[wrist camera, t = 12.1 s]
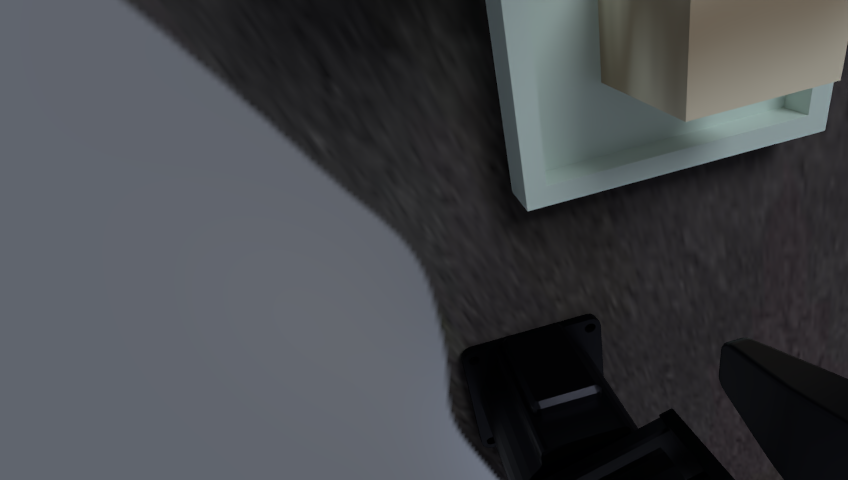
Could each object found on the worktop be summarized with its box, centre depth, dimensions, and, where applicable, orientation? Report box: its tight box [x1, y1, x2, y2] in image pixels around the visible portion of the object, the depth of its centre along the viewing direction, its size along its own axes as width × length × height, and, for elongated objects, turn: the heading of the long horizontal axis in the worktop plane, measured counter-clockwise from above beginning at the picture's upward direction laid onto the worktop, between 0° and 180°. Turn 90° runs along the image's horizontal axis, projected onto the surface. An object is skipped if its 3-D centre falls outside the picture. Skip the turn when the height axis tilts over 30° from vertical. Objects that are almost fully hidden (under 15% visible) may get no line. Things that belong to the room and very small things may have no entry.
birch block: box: [598, 0, 848, 122], centre depth 15 cm, size 4×4×5 cm
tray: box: [485, 0, 834, 211], centre depth 17 cm, size 12×12×2 cm
